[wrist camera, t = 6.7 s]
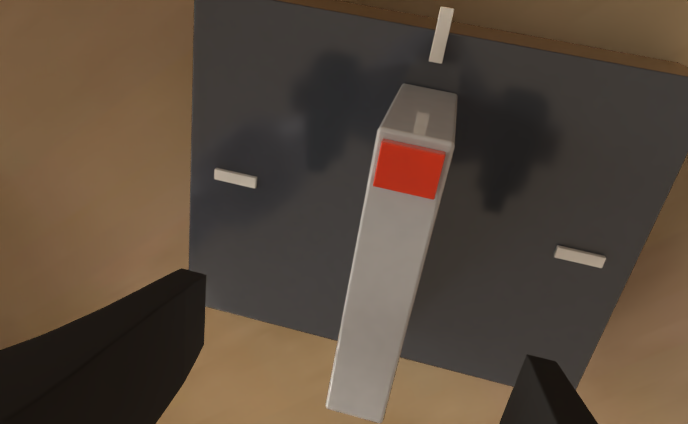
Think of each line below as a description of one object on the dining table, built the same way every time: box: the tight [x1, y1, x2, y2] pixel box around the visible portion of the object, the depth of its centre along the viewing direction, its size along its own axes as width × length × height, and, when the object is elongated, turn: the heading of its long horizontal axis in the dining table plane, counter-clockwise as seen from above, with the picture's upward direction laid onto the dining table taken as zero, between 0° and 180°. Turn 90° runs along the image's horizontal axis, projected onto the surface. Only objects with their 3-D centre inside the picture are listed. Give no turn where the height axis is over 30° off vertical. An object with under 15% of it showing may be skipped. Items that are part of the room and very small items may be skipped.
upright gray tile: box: [326, 83, 458, 423], centre depth 14 cm, size 8×2×5 cm, turn 171°
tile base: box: [189, 0, 688, 390], centre depth 18 cm, size 14×12×3 cm
